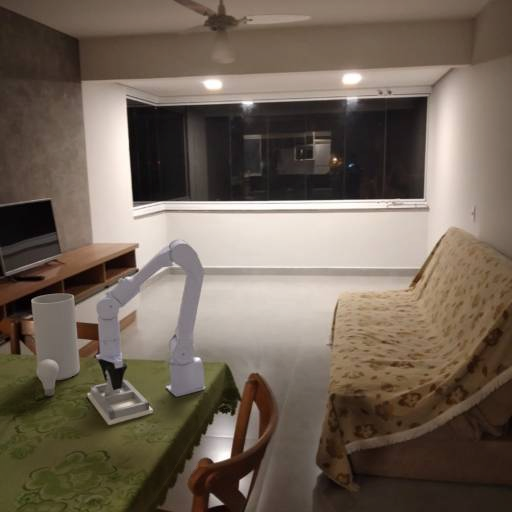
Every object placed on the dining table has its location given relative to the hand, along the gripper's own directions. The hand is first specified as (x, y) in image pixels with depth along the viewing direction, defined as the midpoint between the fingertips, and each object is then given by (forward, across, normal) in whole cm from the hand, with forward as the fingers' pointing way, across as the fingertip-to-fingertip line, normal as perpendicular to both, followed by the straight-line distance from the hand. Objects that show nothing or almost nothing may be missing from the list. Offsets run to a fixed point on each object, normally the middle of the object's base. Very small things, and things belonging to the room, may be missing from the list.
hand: (113, 384), depth 151 cm
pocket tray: (+4, +5, 0) cm, 6 cm away
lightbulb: (+4, -12, -15) cm, 20 cm away
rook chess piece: (+3, 0, 0) cm, 4 cm away
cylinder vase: (+4, -28, -9) cm, 30 cm away
